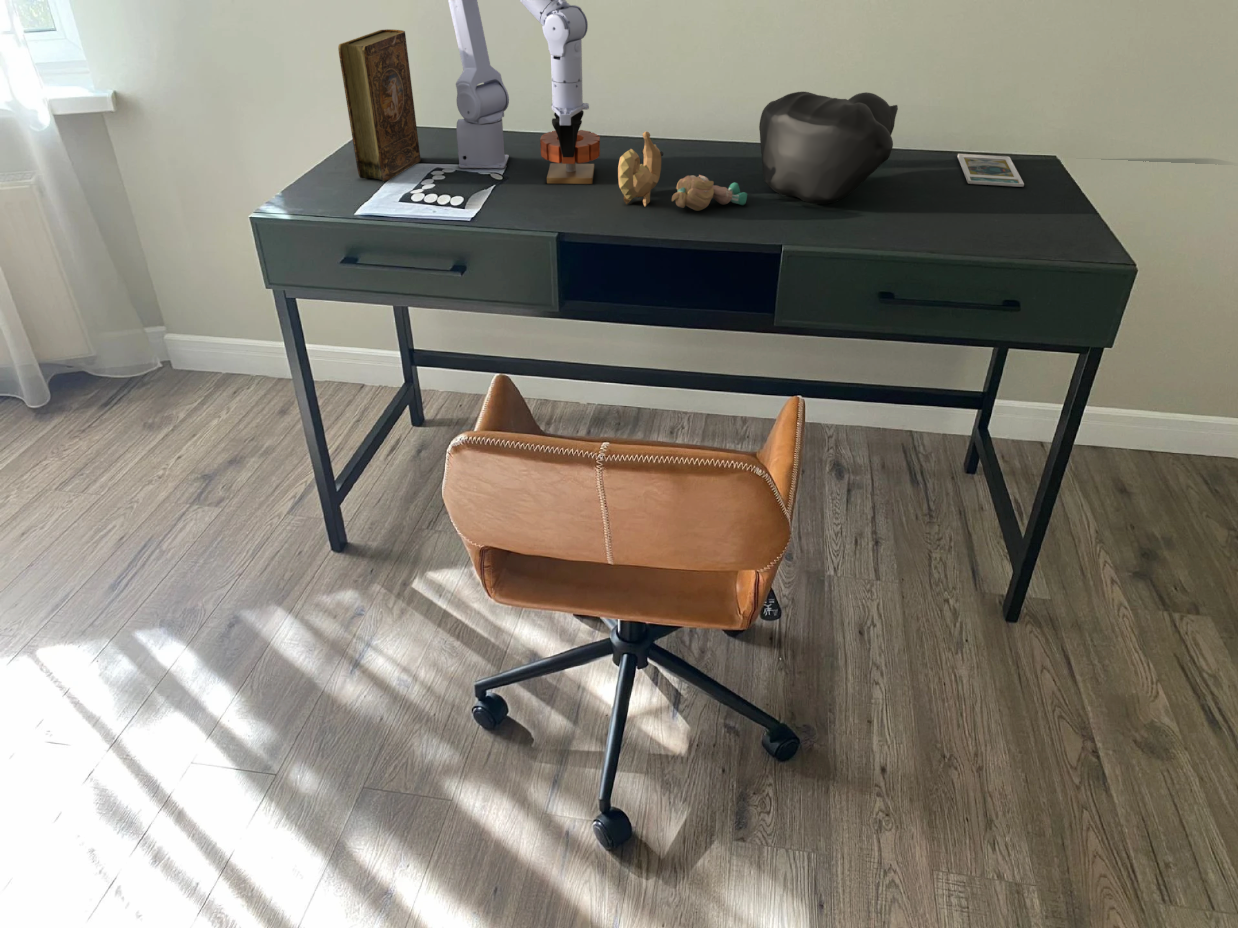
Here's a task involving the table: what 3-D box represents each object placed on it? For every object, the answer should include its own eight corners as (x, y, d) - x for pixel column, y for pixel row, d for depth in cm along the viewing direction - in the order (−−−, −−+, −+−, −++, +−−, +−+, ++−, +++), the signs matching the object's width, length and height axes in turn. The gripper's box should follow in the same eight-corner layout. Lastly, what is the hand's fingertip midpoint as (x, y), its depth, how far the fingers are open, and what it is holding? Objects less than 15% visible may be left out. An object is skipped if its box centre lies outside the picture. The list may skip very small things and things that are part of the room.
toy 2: (756, 182, 167) (686, 163, 160) (749, 220, 168) (679, 204, 161) (732, 185, 174) (664, 168, 167) (726, 222, 175) (658, 206, 169)
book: (400, 156, 193) (383, 29, 178) (423, 159, 192) (408, 30, 177) (359, 180, 180) (337, 45, 166) (383, 183, 179) (363, 47, 164)
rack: (546, 183, 179) (545, 154, 176) (550, 169, 187) (549, 141, 183) (592, 184, 179) (591, 155, 176) (594, 169, 187) (593, 141, 183)
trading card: (1009, 156, 193) (1024, 184, 178) (1008, 159, 193) (1023, 187, 179) (957, 153, 194) (968, 180, 180) (957, 156, 195) (967, 183, 180)
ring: (538, 163, 176) (538, 146, 174) (544, 144, 185) (543, 128, 183) (598, 164, 176) (598, 147, 174) (600, 145, 185) (600, 129, 183)
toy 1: (608, 151, 157) (644, 120, 173) (608, 218, 165) (643, 182, 180) (637, 154, 156) (671, 122, 171) (636, 222, 163) (668, 186, 178)
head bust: (729, 108, 167) (820, 47, 181) (734, 206, 182) (819, 142, 195) (860, 139, 152) (950, 69, 166) (856, 243, 166) (938, 171, 180)
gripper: (586, 89, 162) (587, 165, 170) (590, 71, 174) (591, 143, 182) (547, 89, 162) (550, 165, 170) (553, 70, 174) (556, 142, 182)
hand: (568, 153), depth 176 cm, fingers closed on ring, 3 cm apart
